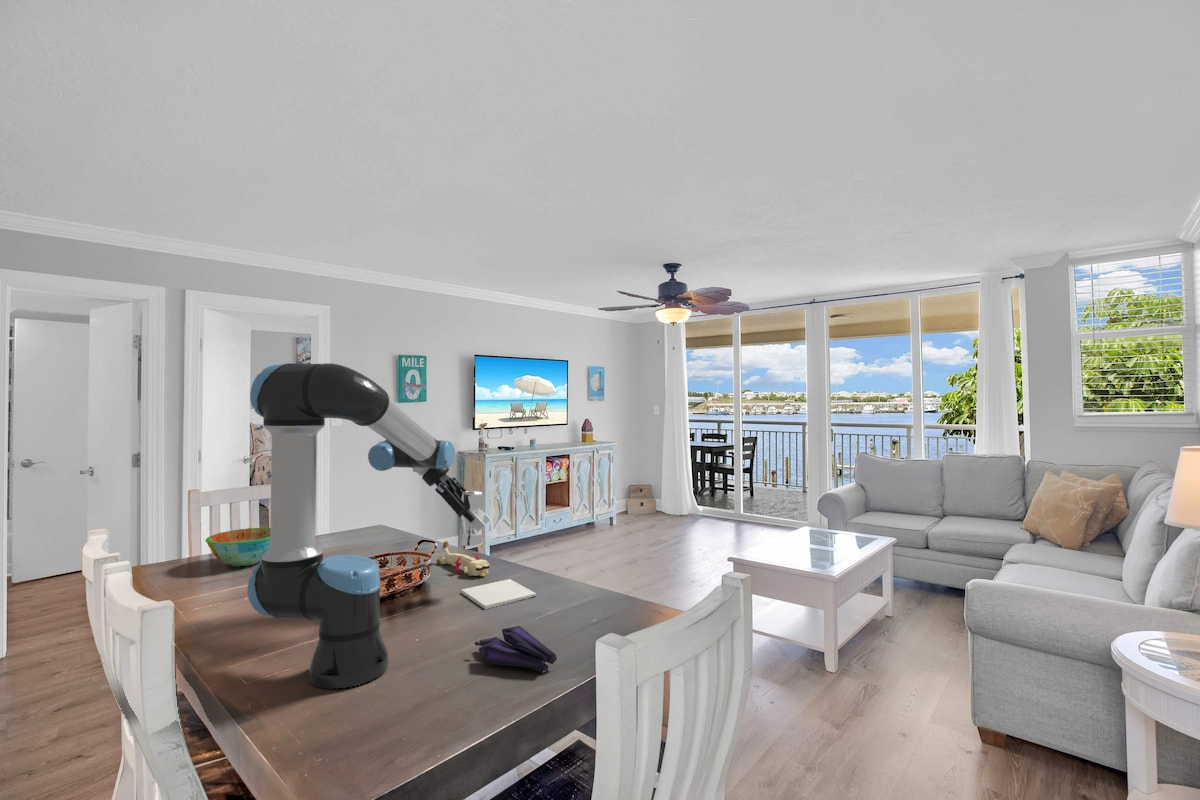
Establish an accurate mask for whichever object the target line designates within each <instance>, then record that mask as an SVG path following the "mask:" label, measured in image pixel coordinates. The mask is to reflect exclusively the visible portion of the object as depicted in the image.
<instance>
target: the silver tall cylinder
mask: <svg viewBox="0 0 1200 800" xmlns="http://www.w3.org/2000/svg"><path fill="white" fill-rule="evenodd" d="M461 500H462V501H463V502H464V504H465V505H466V506H467V508H468V510H469V509H471V510H472V511H473V512H474V513H475V514H476V515H477V516H478V518H479V519H480V520H481V521H482V522H483V519H484V514H485V513H486V495H485V491H481V490H467V491H465V492H462V498H461ZM460 518H461V524H462V538H461V545H462V546H464V547H478V546H481V545H484V544H483V543H484V542H483V535H482V530H483V528H482V529H481V530H480V531H479V532H478V531H477V530H476V529H475V528H474V527H473V526H472V525H471V524H470V523H469V522H468V521H467V520H466V519H465V518H464V517H463V515H462V516H461V517H460Z"/></svg>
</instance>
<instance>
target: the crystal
mask: <svg viewBox="0 0 1200 800" xmlns="http://www.w3.org/2000/svg"><path fill="white" fill-rule="evenodd" d="M501 632H502V637H503V640H502V639H500V638H499V637H498V636H497V637H496V636H495V637H490V638H489V637H488V638H484V639H480V640H479V641H475V642H474V645H475V646H479V648H478V651H479V654H480V656H481V657H482V660H483V661H484V662H486V664H488V665H490V664H495V665H494V666H500V665H504V666H503V667H517V668H527V667H528V668H527V669H529V668H531V669H530V670H532V669H534V670H533V671H535V670H537V671H536V672H538V671H540V672H539V673H541V672H543V671H545V670H547V671H548V669H549V668H550V667H549V666H548V665H547V664H546V663H548V664H550V665H553V664H554V663H555V662H556V661H557V660H558V658H557V655H556V654H555V652H553V651H552V650H550V648H548V647H547V646H546V645H545V644H543V643H542V642H540V641H539V640H538V639H537V638H536V637H534V636H533V635H532V634H530V633H529V632H528V631H526V629H524V628H523V627H521V626H520V625H516V626H511V627H506V628H502V629H501Z"/></svg>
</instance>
